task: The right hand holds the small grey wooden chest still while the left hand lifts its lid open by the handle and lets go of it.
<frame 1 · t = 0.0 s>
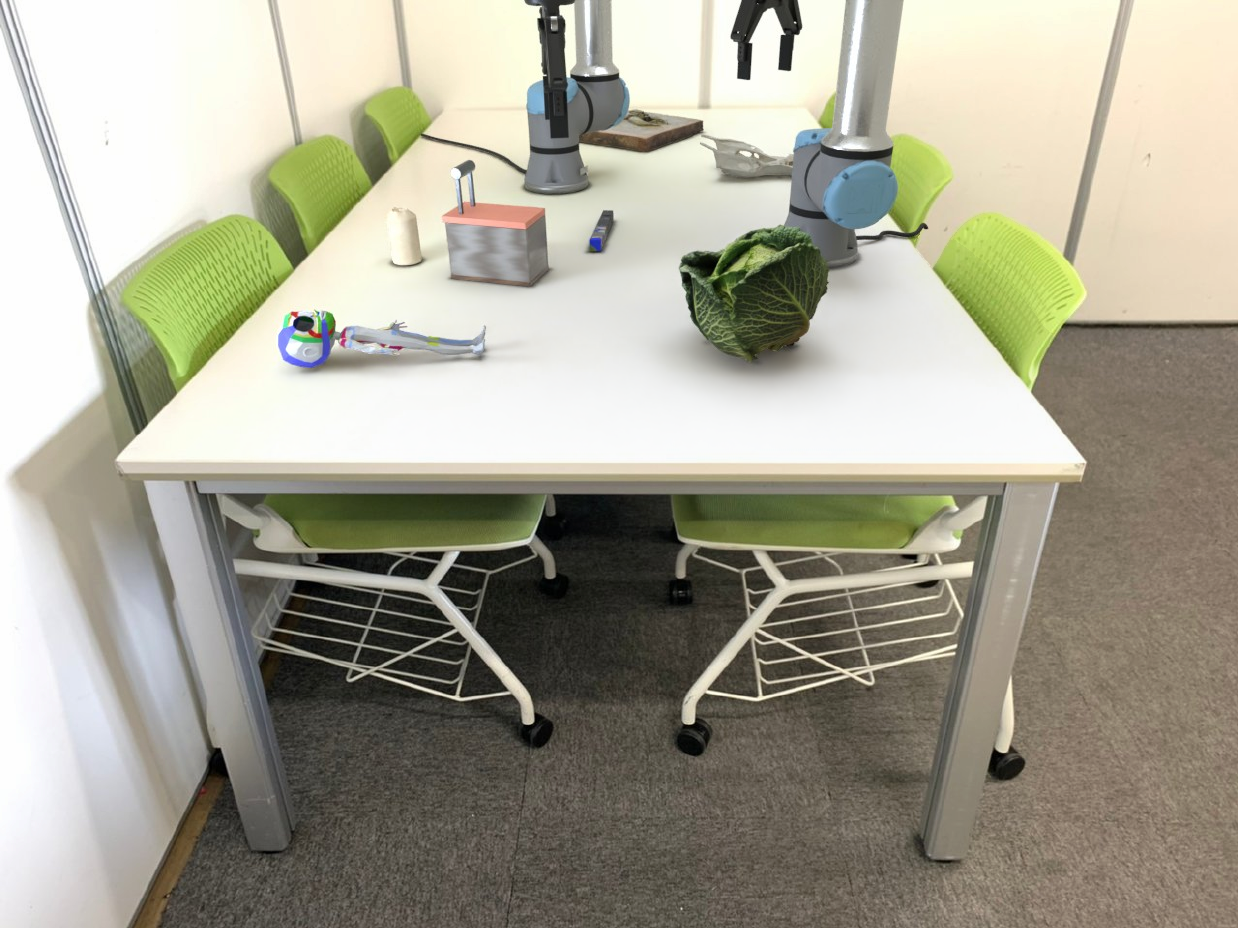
left hand: (764, 75, 179), 28 cm above the table, tool pointing down, fingers open, 13 cm apart
right hand: (556, 128, 140), 28 cm above the table, tool pointing down, fingers open, 13 cm apart
lid: (491, 192, 157), point 15 cm above the table, hinge at 0.0°
vegetable: (750, 348, 136), on the table
anatomical model: (749, 175, 221), on the table
plaque: (633, 136, 259), on the table
toy: (386, 359, 135), on the table
chest: (500, 274, 165), on the table
candle: (407, 261, 172), on the table
pillar: (602, 236, 183), on the table
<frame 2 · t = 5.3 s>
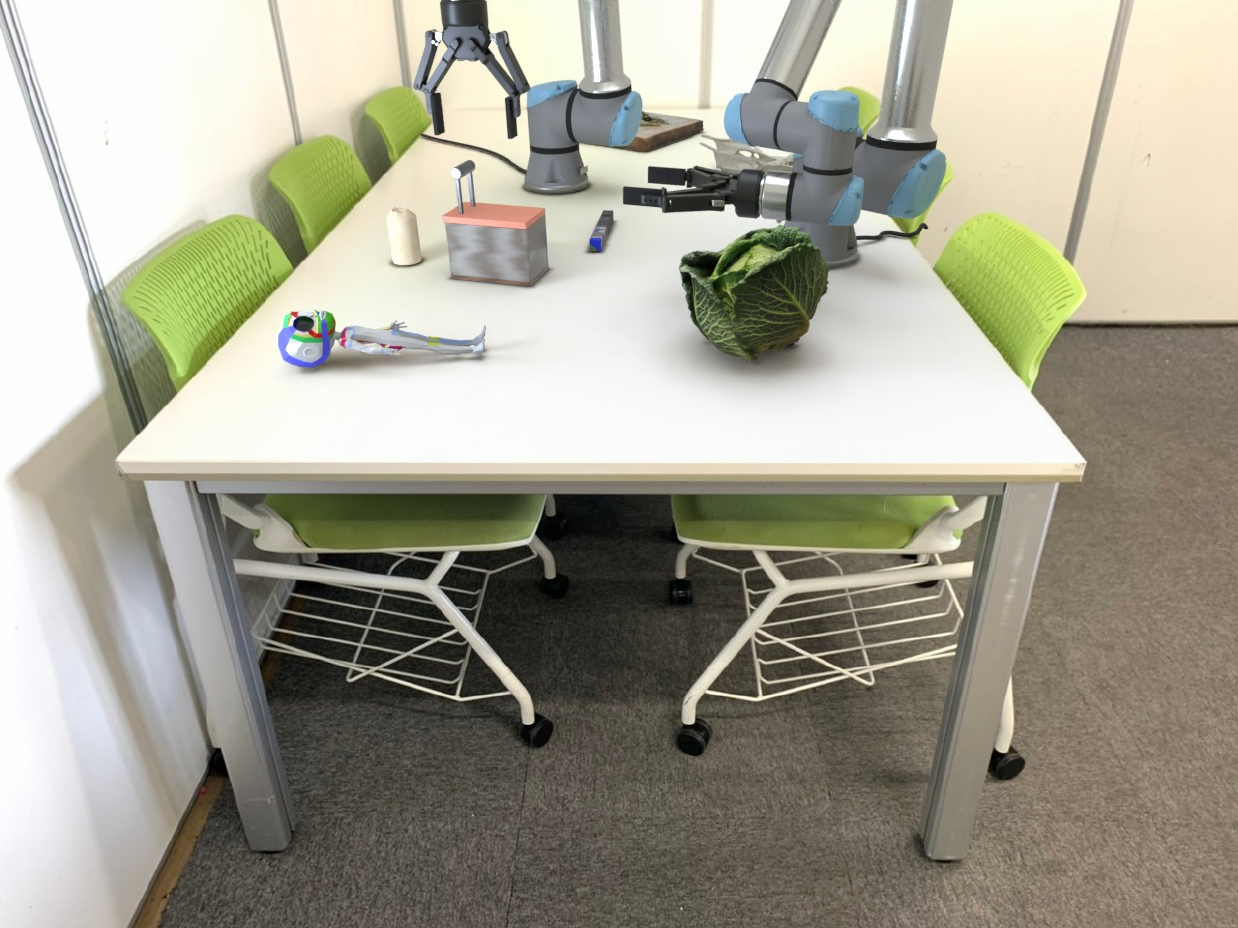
left hand: (475, 135, 155), 24 cm above the table, tool pointing down, fingers open, 13 cm apart
right hand: (636, 184, 149), 18 cm above the table, tool horizontal, fingers open, 13 cm apart
nothing on the table moved.
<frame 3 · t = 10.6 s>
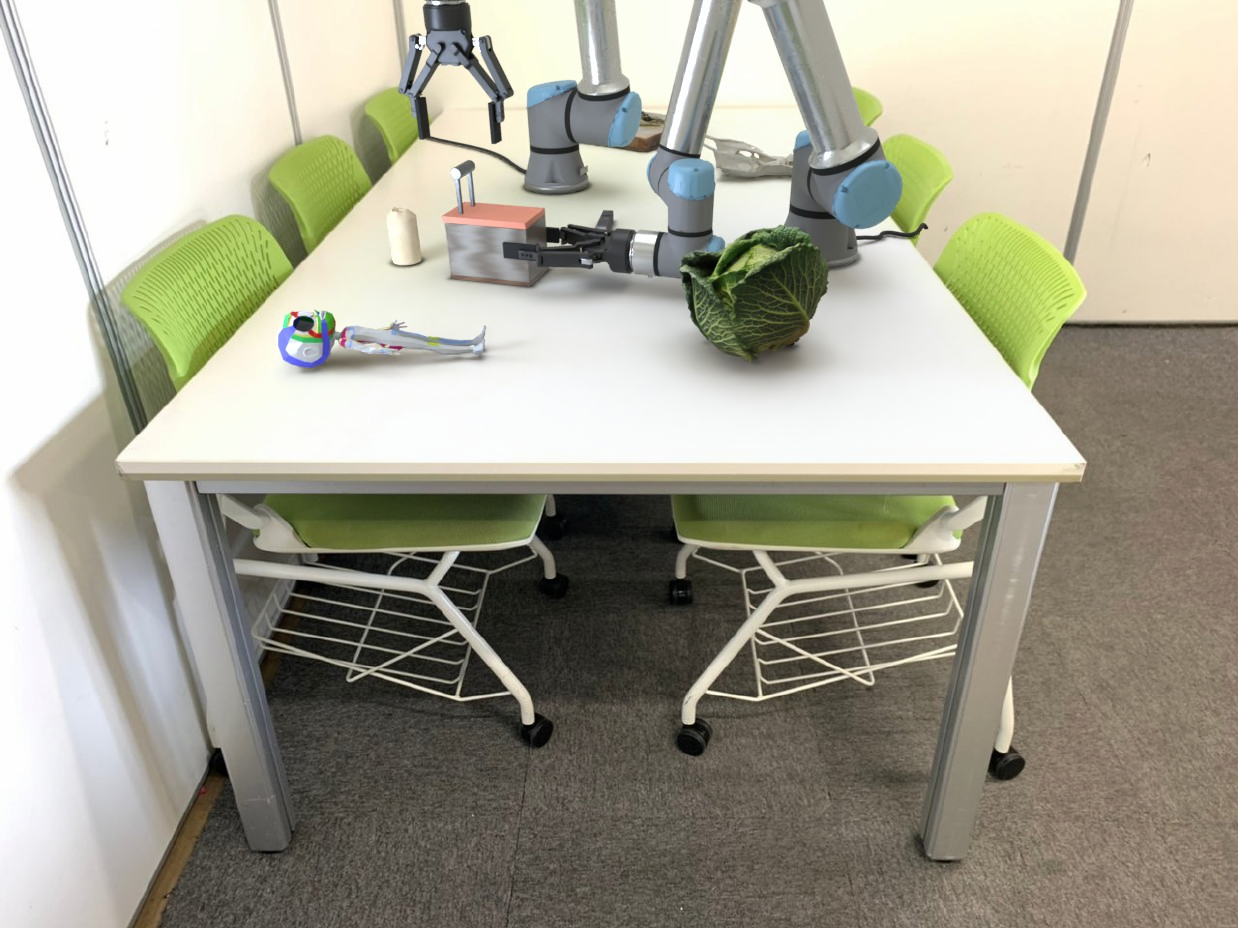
left hand: (460, 140, 154), 23 cm above the table, tool pointing down, fingers open, 13 cm apart
right hand: (515, 241, 161), 6 cm above the table, tool horizontal, fingers closed on chest, 9 cm apart
chest: (500, 274, 165), on the table, touching right hand
everything else where it was.
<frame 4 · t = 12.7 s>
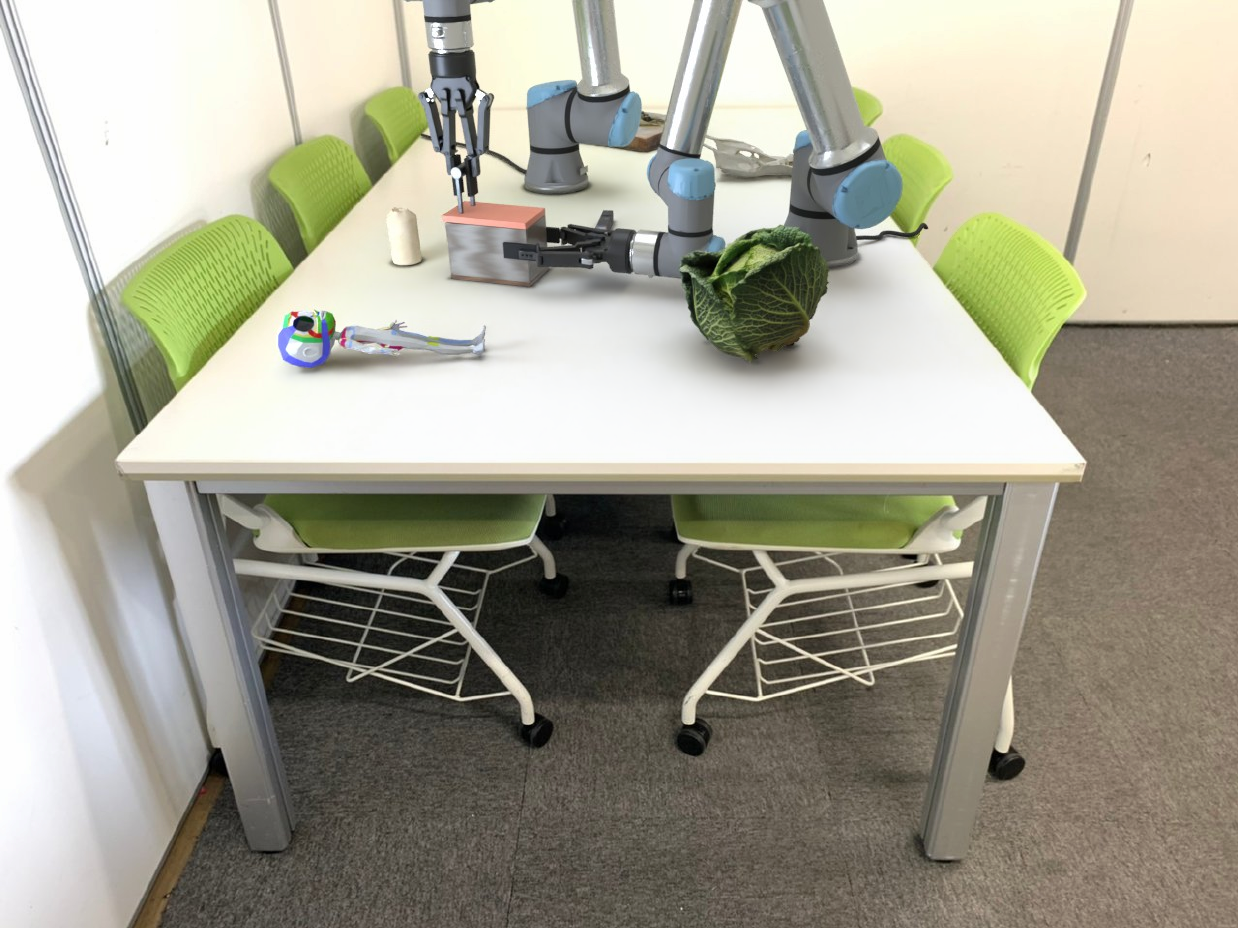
left hand: (466, 194, 159), 14 cm above the table, tool pointing down, fingers closed on lid, 2 cm apart
right hand: (515, 241, 161), 6 cm above the table, tool horizontal, fingers closed on chest, 9 cm apart
lid: (492, 192, 157), point 15 cm above the table, hinge at 0.4°, touching left hand
chest: (500, 274, 165), on the table, touching right hand
everything else where it was.
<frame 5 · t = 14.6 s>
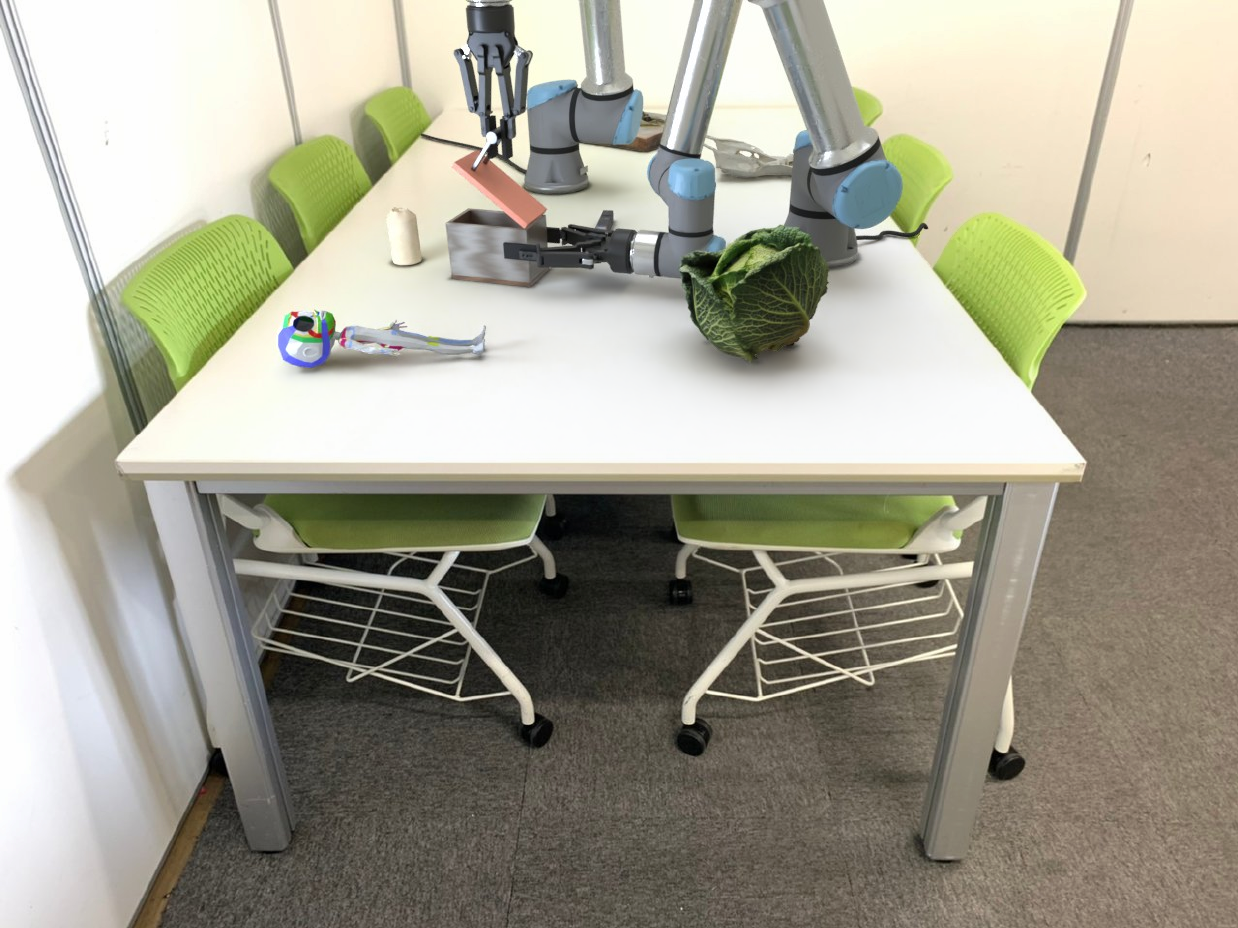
left hand: (500, 157, 153), 21 cm above the table, tool pointing down, fingers closed on lid, 2 cm apart
right hand: (515, 241, 161), 6 cm above the table, tool horizontal, fingers closed on chest, 9 cm apart
lid: (512, 170, 154), point 19 cm above the table, hinge at 37.1°, touching left hand
chest: (501, 274, 165), on the table, touching right hand
everything else where it was.
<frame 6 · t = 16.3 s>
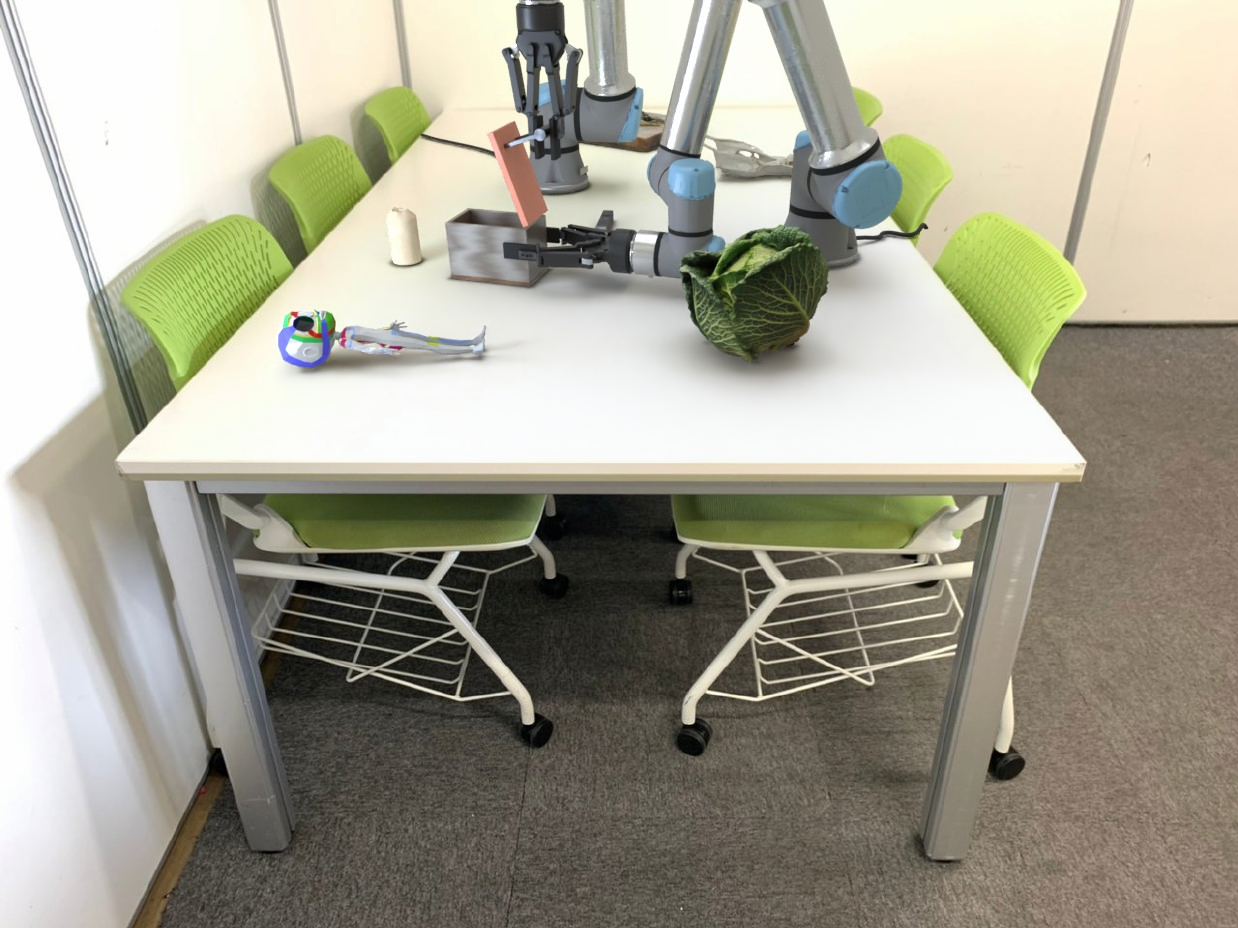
left hand: (548, 157, 151), 22 cm above the table, tool pointing down, fingers closed on lid, 2 cm apart
right hand: (515, 241, 161), 6 cm above the table, tool horizontal, fingers closed on chest, 9 cm apart
lid: (539, 167, 152), point 20 cm above the table, hinge at 70.9°, touching left hand
chest: (500, 274, 165), on the table, touching right hand
everything else where it was.
when the right hand's fingers open (6 cm above the table, at t = 20.2 s): chest stays where it is, on the table.
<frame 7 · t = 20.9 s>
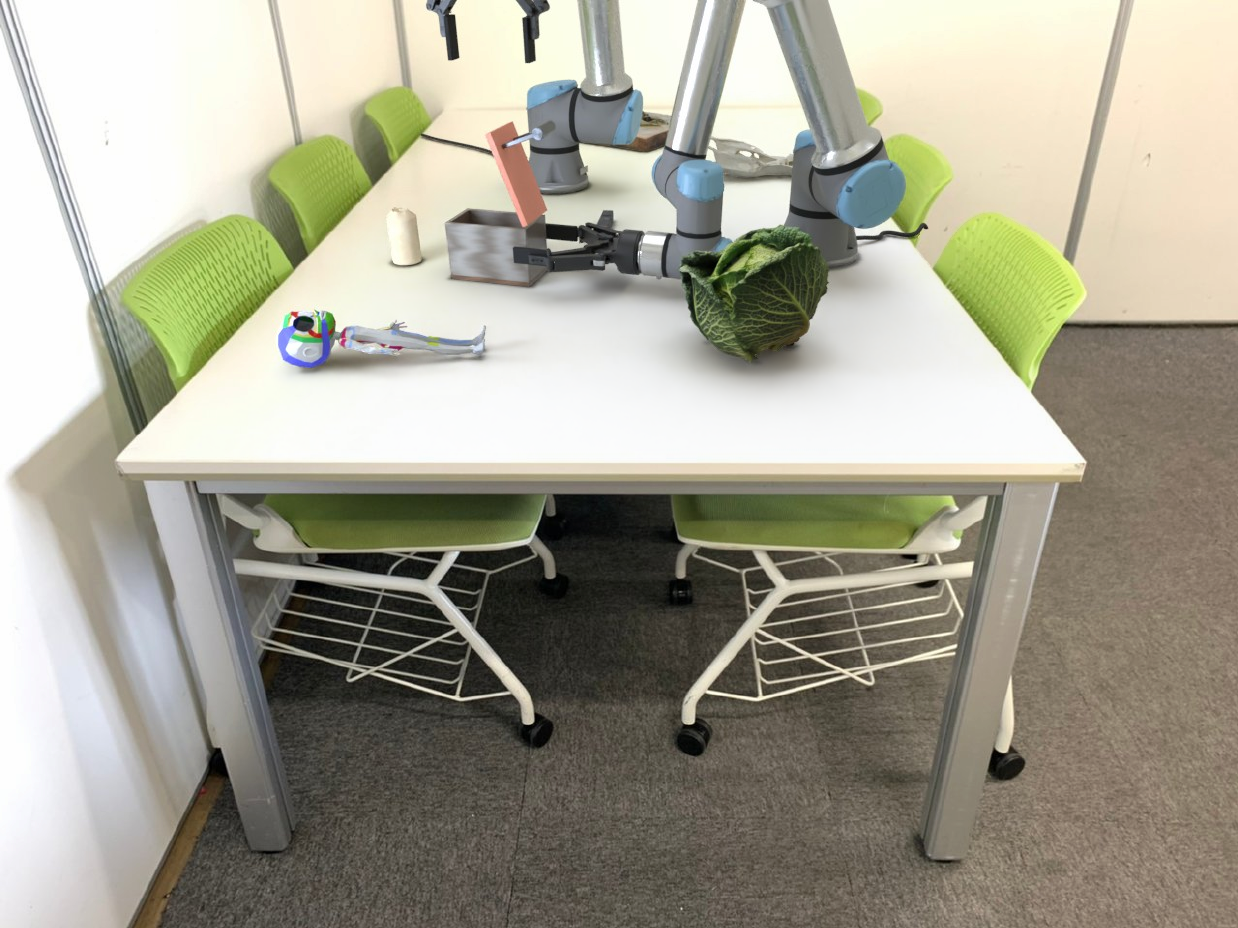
left hand: (491, 61, 145), 36 cm above the table, tool pointing down, fingers open, 13 cm apart
right hand: (529, 242, 160), 6 cm above the table, tool horizontal, fingers open, 13 cm apart
lid: (537, 167, 152), point 20 cm above the table, hinge at 69.8°
chest: (500, 274, 165), on the table
everything else where it was.
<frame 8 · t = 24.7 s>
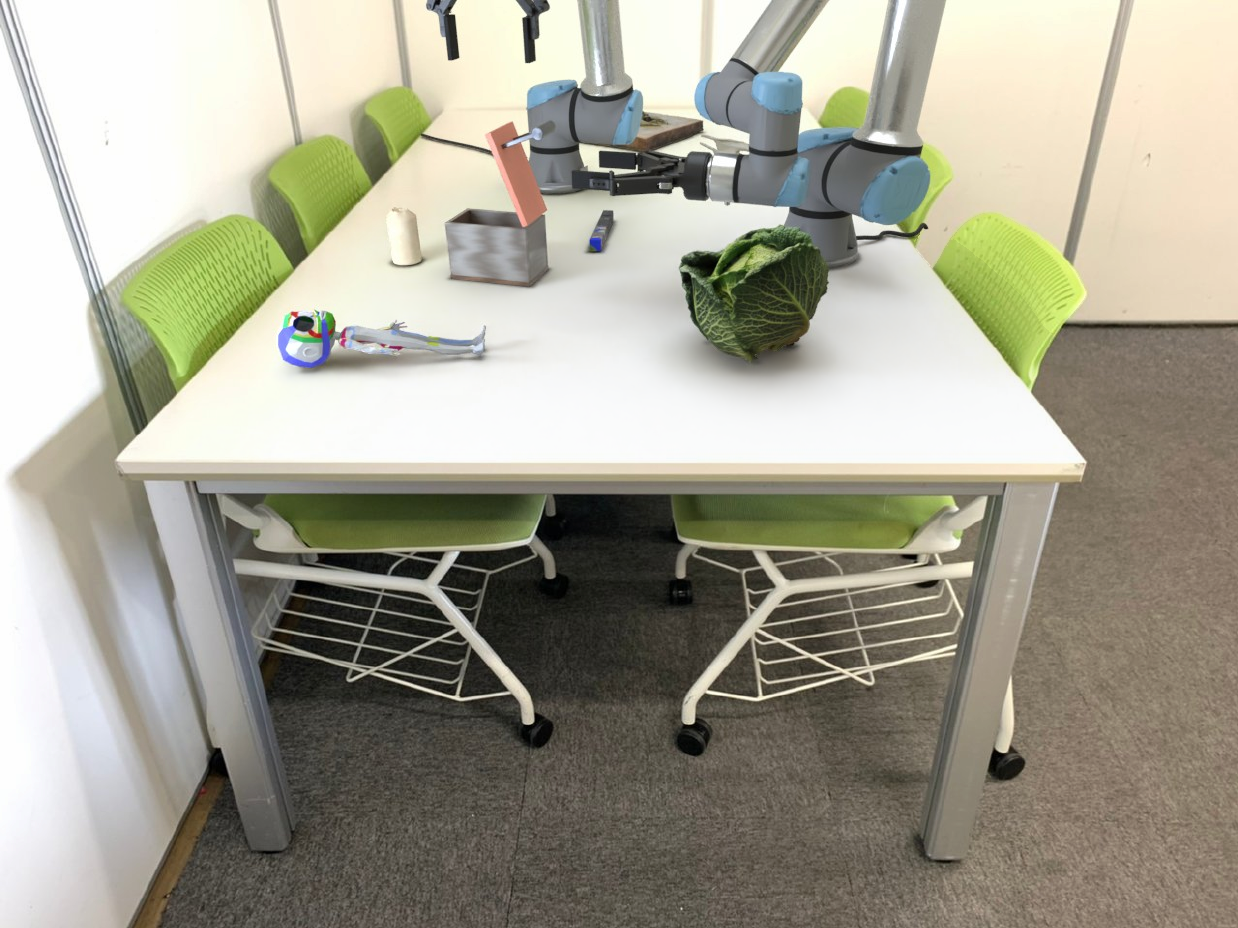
left hand: (491, 61, 145), 36 cm above the table, tool pointing down, fingers open, 13 cm apart
right hand: (586, 168, 150), 20 cm above the table, tool horizontal, fingers open, 13 cm apart
nothing on the table moved.
at the end: lid at +70° (first picture: +0°); the left hand is holding nothing; the right hand is holding nothing; chest tilted 0°; chest never tilted more than 1° during the clip; chest moved 0.1 cm from its start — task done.
